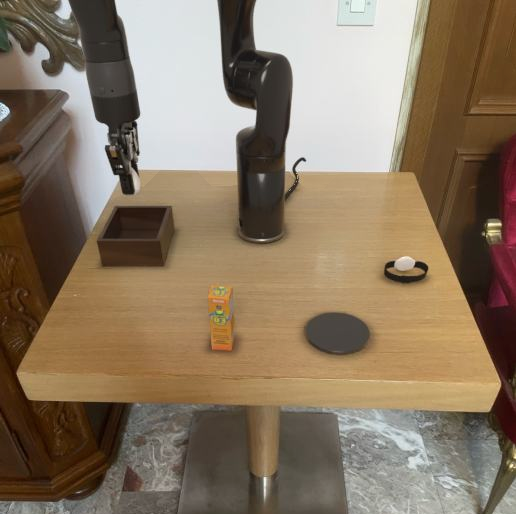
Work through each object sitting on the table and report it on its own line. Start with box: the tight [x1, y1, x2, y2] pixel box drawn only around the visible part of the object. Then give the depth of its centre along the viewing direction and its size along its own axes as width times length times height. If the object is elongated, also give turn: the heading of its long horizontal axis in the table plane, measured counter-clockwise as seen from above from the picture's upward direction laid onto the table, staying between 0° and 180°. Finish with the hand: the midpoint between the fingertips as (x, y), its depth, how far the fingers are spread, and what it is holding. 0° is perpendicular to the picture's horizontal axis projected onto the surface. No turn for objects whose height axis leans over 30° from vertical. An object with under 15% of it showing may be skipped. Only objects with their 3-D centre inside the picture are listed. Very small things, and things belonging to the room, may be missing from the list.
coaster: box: [304, 311, 371, 356], centre depth 82 cm, size 10×10×1 cm
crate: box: [96, 205, 176, 267], centre depth 102 cm, size 15×12×5 cm
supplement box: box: [207, 284, 236, 352], centre depth 77 cm, size 3×3×10 cm
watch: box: [383, 255, 429, 284], centre depth 93 cm, size 8×5×4 cm, turn 88°
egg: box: [120, 167, 142, 197], centre depth 96 cm, size 4×4×6 cm
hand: (131, 188), depth 97 cm, fingers closed on egg, 3 cm apart
